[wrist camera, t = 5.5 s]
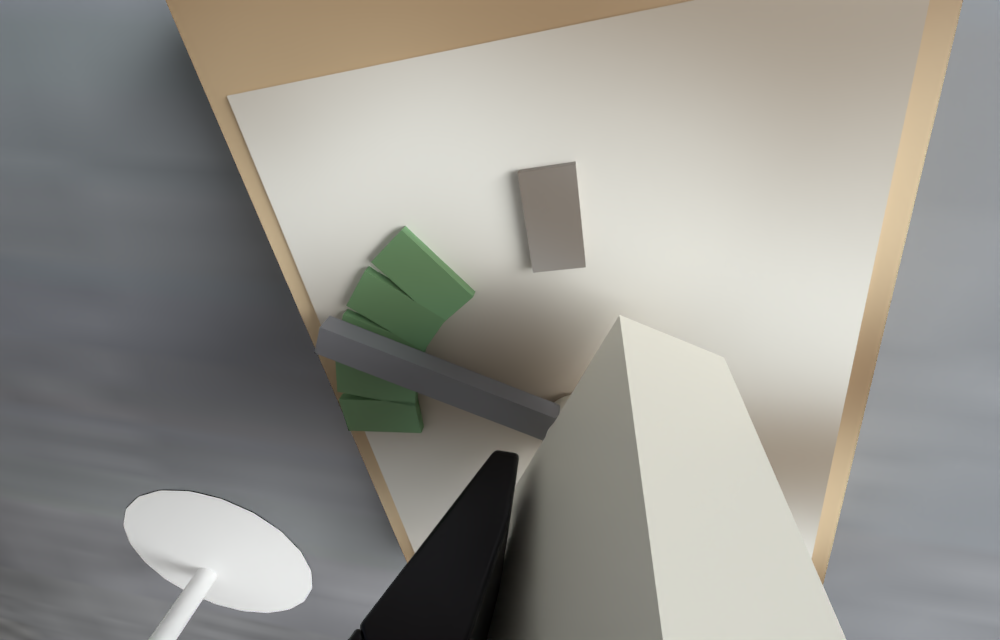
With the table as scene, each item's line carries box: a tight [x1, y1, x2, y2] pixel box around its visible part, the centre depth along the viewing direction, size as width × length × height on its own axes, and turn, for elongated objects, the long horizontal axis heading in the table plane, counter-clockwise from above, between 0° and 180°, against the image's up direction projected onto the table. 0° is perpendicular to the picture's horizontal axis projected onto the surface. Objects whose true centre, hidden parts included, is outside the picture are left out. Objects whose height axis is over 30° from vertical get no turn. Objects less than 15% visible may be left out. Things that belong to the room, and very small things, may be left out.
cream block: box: [315, 315, 846, 640], centre depth 6 cm, size 6×6×7 cm
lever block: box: [166, 0, 963, 585], centre depth 11 cm, size 16×10×3 cm, turn 10°
